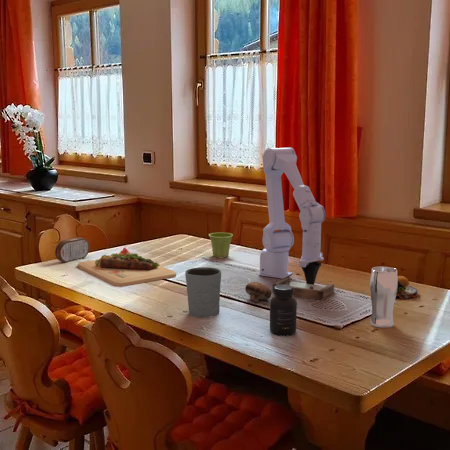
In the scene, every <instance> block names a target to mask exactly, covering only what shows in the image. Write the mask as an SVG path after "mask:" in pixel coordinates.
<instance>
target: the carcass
mask: <svg viewBox="0 0 450 450" xmlns="http://www.w3.org/2000/svg"><path fill="white" fill-rule="evenodd" d="M290 281H291V277H289V276H287V277H285V278H283V279H282V278H281V279H280V280H279V281H276V282H275V283H273V284H272V293H274V287H275V286H276V285H290ZM292 287H293V295H292V296H293V297H302V298H308V299H313V300H321V301H323V300H324V299H326V298H327V297H328V296H330V295H331V294H333V293H334V292H335V284H334V283H329V284H328V285H326V286H325V287H324V288H323V289H321V290H313V287H312V286H310V288H309V289H307V288H300V287H294V286H292Z"/></svg>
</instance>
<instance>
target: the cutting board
mask: <svg viewBox="0 0 450 450" xmlns="http://www.w3.org/2000/svg"><path fill="white" fill-rule="evenodd" d="M77 268H79V269H81V270H82V271H84V272H86V273H88V274H91V275H93V276H94V277H97V278H99V279H101V280H102V281H105V282H106V283H109V284H110V285H112V286H116V287H117V286H118V287H125V286H130V285H131V286H132V285H138V284H142V283H148V282H149V283H150V282H155V281H160V280H166V279H165V278H167V279H170V278H169V277H172V278H176V277H177V271H175V270H172V269H170V268H167V267H164V266H162V265H160V263H158V262H157V261H156V262H155V261H153V260H152V258H145V257H143V256H142V255H138V253H134V252H133V253H132V252H130V251H129V250H128V248H126V247H123V249H122V250H120V252H119V253H118V252H117V253H111V254H110V255H106V254H103V255H101V257H100V258H99V259H95V260H87V261H86V260H85V261H81V262H80V261H79V262H78V263H77ZM175 276H176V277H175Z"/></svg>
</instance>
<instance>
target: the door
mask: <svg viewBox="0 0 450 450" xmlns="http://www.w3.org/2000/svg"><path fill="white" fill-rule="evenodd" d="M290 286H294V287H300V288H307V289H309V288H310V286H312V287H313V290H321V289H323V288H324V287H326V286H325V285H320V284H319V285H318V284H314V285H312V284H307V283H305V282H298V281H291V282H290Z"/></svg>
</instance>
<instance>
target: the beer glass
mask: <svg viewBox="0 0 450 450" xmlns="http://www.w3.org/2000/svg"><path fill="white" fill-rule="evenodd" d="M397 277H398V269H397V268H394V267H390V266H374V267H372V268H371V272H370V280H369V281H370V282H369V294H370V301H371V316H370V320H369V324H370V325H371V326H372V327H374V328H375V327H376V328H380V329H390V328H393V327H394V325H395V324H394V315H393V313H394V307H395V306H394V305H395V302H396V297H397V296H396V293H397V282H398V279H397Z"/></svg>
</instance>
